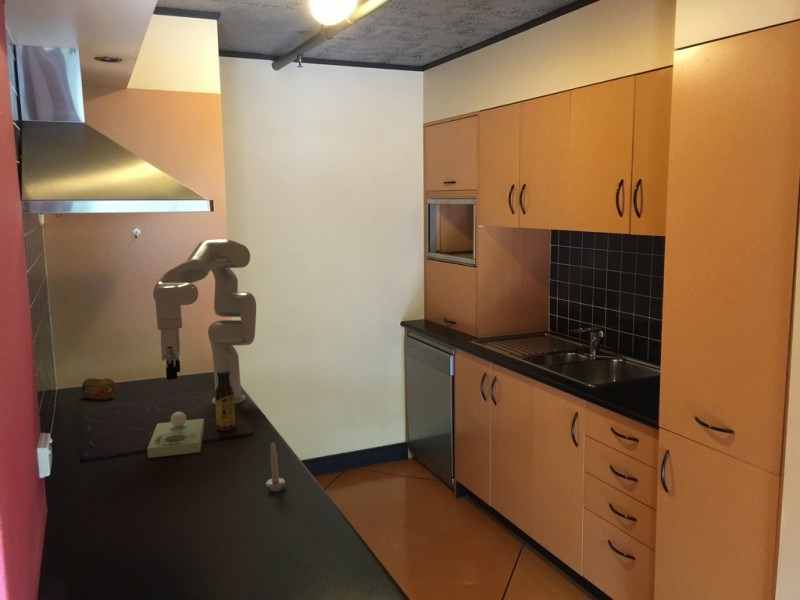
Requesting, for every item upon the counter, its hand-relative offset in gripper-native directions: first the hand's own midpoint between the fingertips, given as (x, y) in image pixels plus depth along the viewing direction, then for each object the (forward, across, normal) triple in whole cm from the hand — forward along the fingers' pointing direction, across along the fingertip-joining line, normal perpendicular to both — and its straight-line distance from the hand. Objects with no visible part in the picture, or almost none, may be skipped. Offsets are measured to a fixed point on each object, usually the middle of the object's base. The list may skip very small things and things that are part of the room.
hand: (173, 375), depth 213 cm
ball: (+15, -1, 0) cm, 15 cm away
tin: (+20, -59, -36) cm, 72 cm away
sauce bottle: (+20, -3, +15) cm, 26 cm away
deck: (+21, +5, 0) cm, 21 cm away
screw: (+21, +52, +29) cm, 64 cm away
